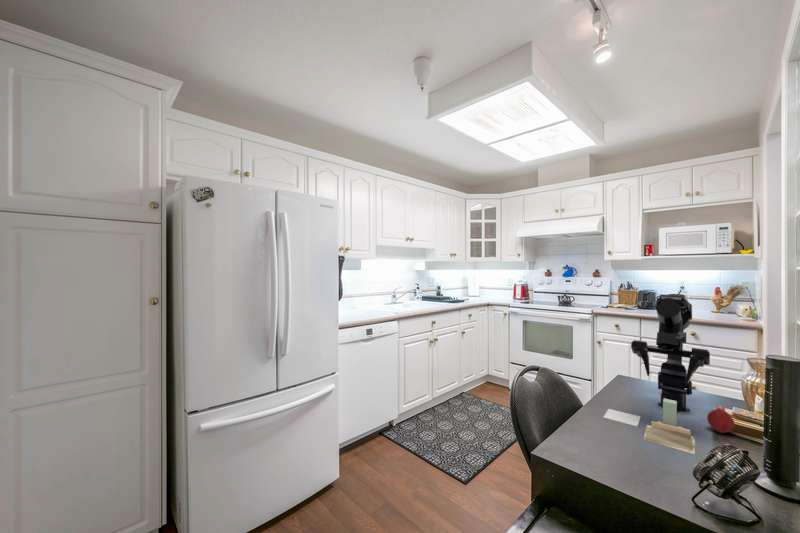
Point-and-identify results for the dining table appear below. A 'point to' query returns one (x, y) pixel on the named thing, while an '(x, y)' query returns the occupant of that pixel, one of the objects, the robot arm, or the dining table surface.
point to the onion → (720, 420)
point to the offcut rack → (670, 436)
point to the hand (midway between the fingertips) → (666, 378)
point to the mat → (622, 417)
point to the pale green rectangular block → (670, 412)
